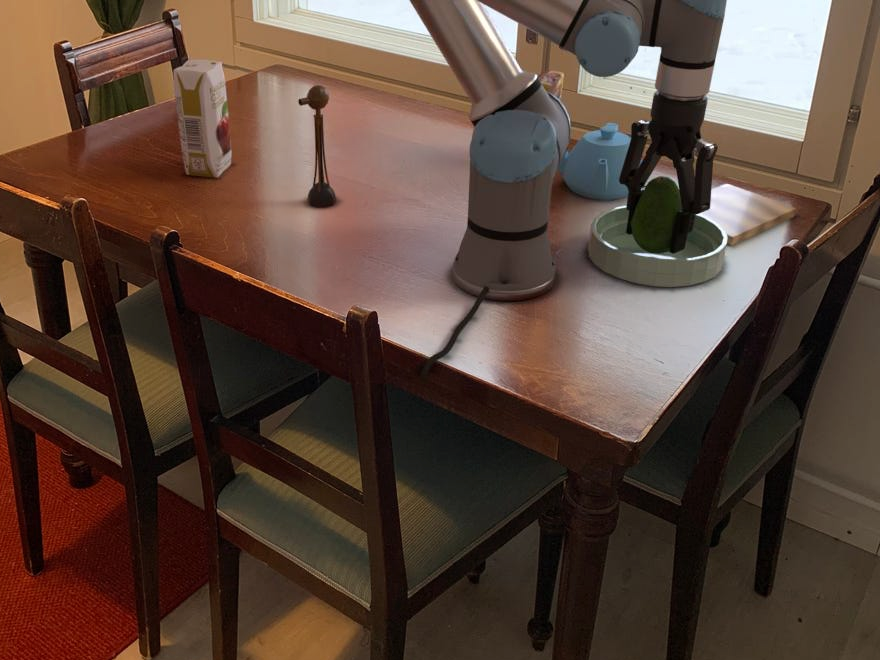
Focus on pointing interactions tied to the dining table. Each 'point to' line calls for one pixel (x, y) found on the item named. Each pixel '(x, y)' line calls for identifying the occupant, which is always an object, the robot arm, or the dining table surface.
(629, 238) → the bowl
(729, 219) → the board
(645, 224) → the avocado
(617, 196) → the teapot
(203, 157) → the juice carton
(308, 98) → the wooden tabletop sculpture
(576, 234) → the dining table surface
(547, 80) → the candy box
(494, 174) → the robot arm
